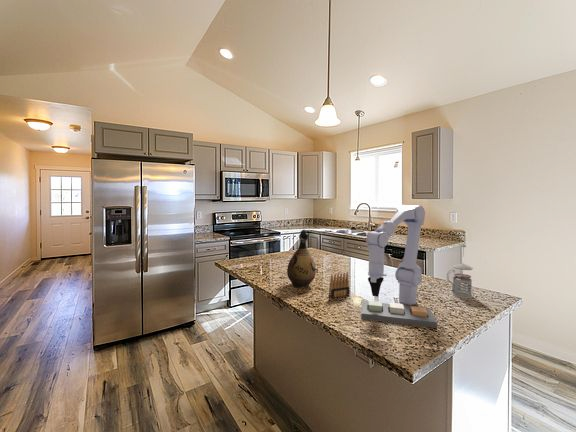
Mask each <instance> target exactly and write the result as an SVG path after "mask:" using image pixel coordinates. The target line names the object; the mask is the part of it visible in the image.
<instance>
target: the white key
mask: <svg viewBox="0 0 576 432" xmlns="http://www.w3.org/2000/svg"><path fill="white" fill-rule="evenodd" d="M388 304H389V311H390V313H397V314H404V306H403V305H404V304H403V303H396V302H389V303H388Z"/></svg>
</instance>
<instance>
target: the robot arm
mask: <svg viewBox="0 0 576 432" xmlns="http://www.w3.org/2000/svg"><path fill="white" fill-rule="evenodd" d="M425 217H426V211H425V208H424V207H423V205H422V204H421V205H420V204H419V205H417V204H416V205H413V204H411V205H410V204H408V205H407V204H400V205H399V206H398V207H397V208H396V213H395V214H394V215H393V216H392V217H391V219H390V220H384V221H382V224H380V226H378V227H377V228H376V229H375V230H374V231H370V232H368V233H367V235H366V238H365V242H366V244H367V250H368V272H367V275H368V278H367V281H368V283H369V285H370V290H371V295H372V297H379V295H380V290H381V286H382V284H383V282H384V280H385V279H384V277H387V275H388V274H387V273H385V272H384V269H385V265H384V264H385V247H386V246H387V244H388V242H389V239H390V238H391V236H392V235H393V234H394V233H396V231H397V227H398V226H399V225H400V224H401V223H404V224H405V225H407V227H408V228H407V236H406V242H405V249H404V256H403V260H402V261H401V262H400V263H398V264H397V268H396V270H395V274H394V275H395V276H394V277H395V280H396V281H397V284H399V285H398V287H399V288H398V297H396V299H397V300H398V301H399V303H400V304H403V305H408V306H413V305H416V304H417V299H418V298H417V297H418V296H417V294H418V293H417V292H418V291H417V290H418V286H419V285H420V284H421V283H422V279H423V275H422V271H423V270H422V268H421V267H420V266H419V265H418V264H417V258H418V252H419V246H420V237H421V232H422V231H421V229H422V226H423V225H424V223H425Z"/></svg>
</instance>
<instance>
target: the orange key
mask: <svg viewBox="0 0 576 432" xmlns="http://www.w3.org/2000/svg"><path fill="white" fill-rule="evenodd" d="M410 306H411V315H414V316H423V317H427V311H426V309H425V308H426V307H425V308H423V307H424V306H423V307H422V306H416V307H414V306H413V305H410Z"/></svg>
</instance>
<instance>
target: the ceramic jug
mask: <svg viewBox="0 0 576 432" xmlns="http://www.w3.org/2000/svg"><path fill="white" fill-rule="evenodd" d="M308 238H309V235H308V234H307V230H306V229H302V230H301V231H300V233H299V234H298V239H299V241H300V242H299V245H298V247H297V249H296V250H295V252H294V253H293V254H292V256H291V257H290V259H289V261H288V265H287V267H286V268H287V269H286V270H287V271H286V274H287V278H288V279H289V281H290V283H291V287H292V286H293V287H292V288H296V289H306V288H308V287H309V286H310V284H311V282H313V281H314V279H316V278H315V277H316V274H317V270H316V264H315V261H314V258H313V256H312V255H311V253H310V252H309V250H308V247H307V245H306V242H308Z"/></svg>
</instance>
